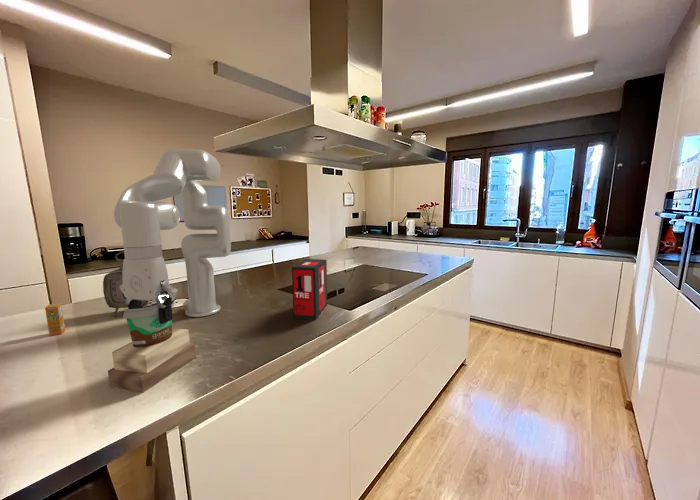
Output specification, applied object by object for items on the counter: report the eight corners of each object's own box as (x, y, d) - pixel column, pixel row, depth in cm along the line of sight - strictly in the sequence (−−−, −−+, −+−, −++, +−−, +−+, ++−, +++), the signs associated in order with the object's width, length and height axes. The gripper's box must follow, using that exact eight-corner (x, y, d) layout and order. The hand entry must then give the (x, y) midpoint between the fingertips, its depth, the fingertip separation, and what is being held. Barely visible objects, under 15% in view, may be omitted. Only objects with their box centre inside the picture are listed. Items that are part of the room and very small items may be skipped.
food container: (149, 352, 68) (144, 311, 66) (127, 350, 69) (122, 309, 67) (188, 330, 80) (184, 295, 78) (169, 328, 81) (165, 294, 79)
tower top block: (114, 369, 69) (111, 351, 68) (161, 342, 82) (160, 327, 82) (147, 373, 67) (145, 355, 66) (189, 344, 81) (188, 329, 80)
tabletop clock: (107, 318, 110) (98, 253, 106) (114, 310, 118) (106, 250, 114) (152, 313, 115) (145, 251, 112) (156, 305, 124) (150, 248, 120)
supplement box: (48, 336, 95) (43, 307, 93) (53, 332, 98) (48, 304, 96) (62, 334, 96) (57, 305, 95) (66, 330, 99) (61, 302, 98)
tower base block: (110, 388, 69) (107, 370, 68) (167, 354, 84) (165, 340, 84) (143, 394, 66) (141, 376, 66) (196, 359, 82) (194, 344, 81)
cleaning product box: (307, 304, 126) (306, 259, 123) (327, 305, 124) (326, 259, 121) (293, 318, 110) (291, 267, 107) (316, 320, 108) (315, 268, 105)
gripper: (101, 254, 69) (110, 321, 72) (157, 257, 65) (165, 329, 67) (132, 249, 77) (139, 311, 79) (185, 252, 72) (190, 317, 75)
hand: (151, 319), depth 73 cm, fingers open, 9 cm apart
